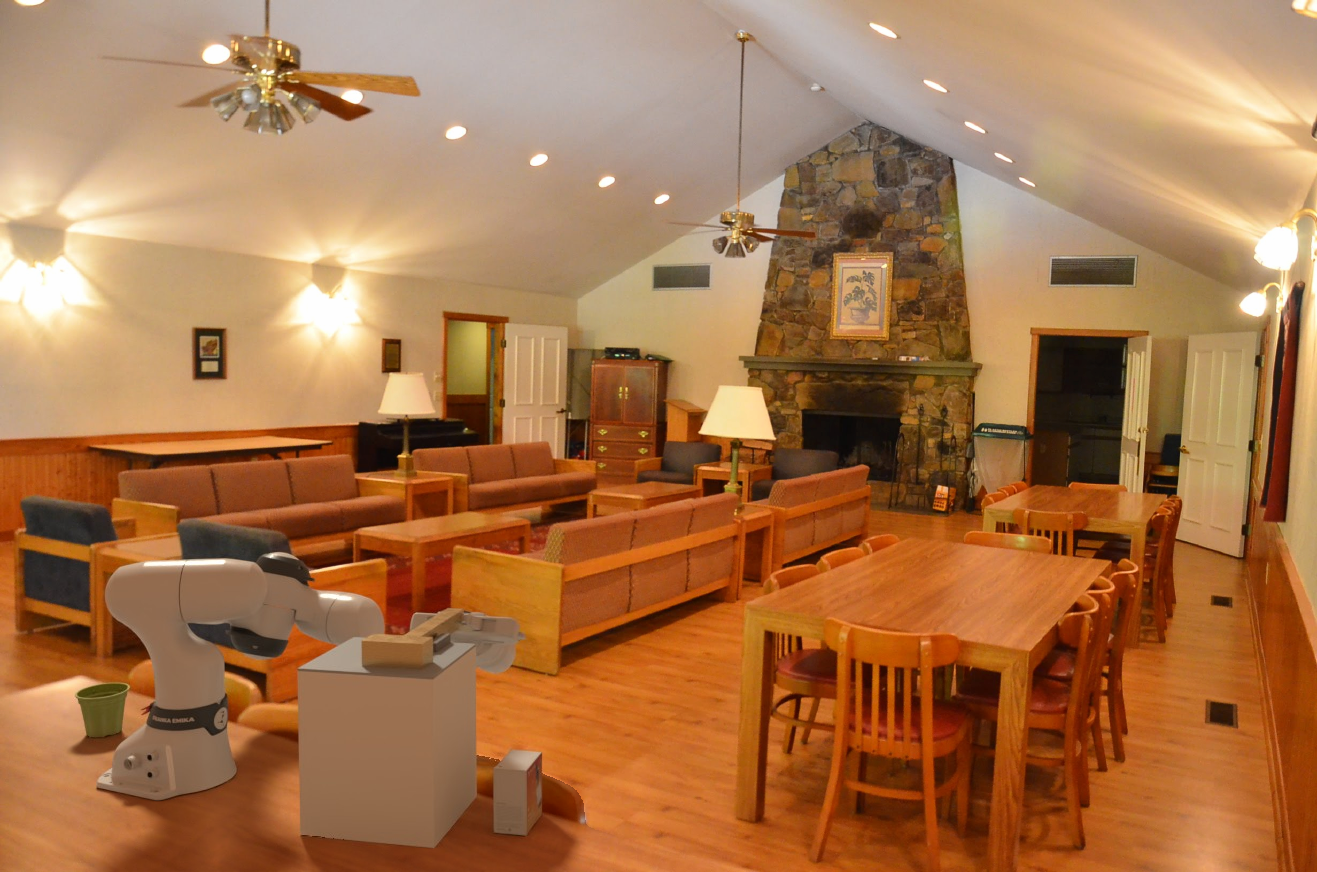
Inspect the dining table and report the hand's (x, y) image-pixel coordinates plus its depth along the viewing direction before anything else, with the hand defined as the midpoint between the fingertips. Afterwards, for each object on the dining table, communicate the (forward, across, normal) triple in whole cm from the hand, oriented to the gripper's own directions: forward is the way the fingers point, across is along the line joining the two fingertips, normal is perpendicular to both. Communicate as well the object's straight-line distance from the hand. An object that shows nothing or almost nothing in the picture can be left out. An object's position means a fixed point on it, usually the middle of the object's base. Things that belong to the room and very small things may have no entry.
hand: (452, 616), depth 171 cm
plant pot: (-18, +75, -22) cm, 80 cm away
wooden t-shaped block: (+9, 0, -7) cm, 12 cm away
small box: (+1, -18, -33) cm, 38 cm away
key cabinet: (+2, +3, -34) cm, 34 cm away
